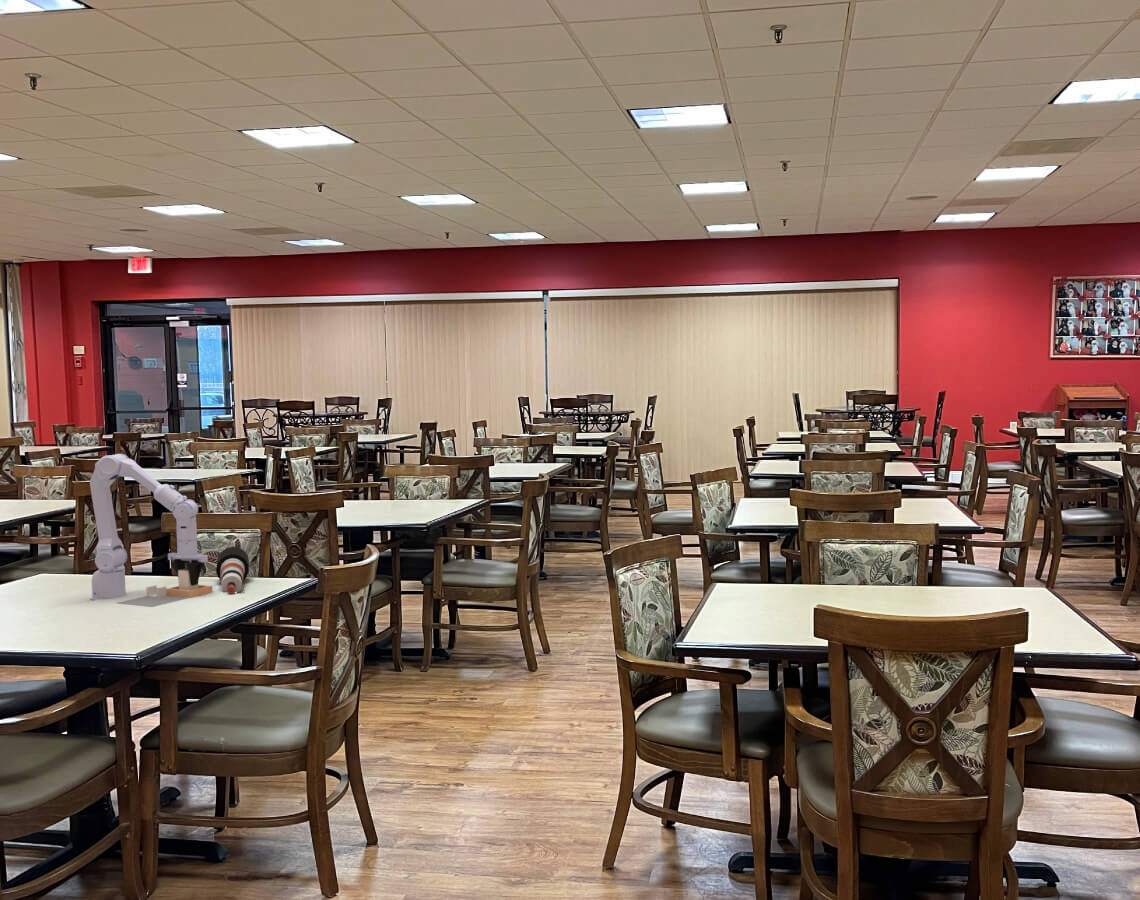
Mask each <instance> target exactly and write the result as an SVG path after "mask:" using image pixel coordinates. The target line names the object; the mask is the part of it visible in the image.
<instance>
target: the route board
mask: <svg viewBox="0 0 1140 900" xmlns="http://www.w3.org/2000/svg"><path fill="white" fill-rule="evenodd" d="M208 594H209V593H207V594H206V595H208ZM204 595H205V594H203V595H202V596H204ZM199 596H201V595H199ZM199 596H198V597H199ZM196 597H197V596H195V597H194V598H196ZM191 598H193V597H191ZM191 598H190V599H191ZM187 599H189V598H187V597H177V596H166V597H162V598H151V597H147V595H146V596H145V595H144V596H140V597H136V598H132V599H127V600H123V601H119V602H116V604H120V605H130V606H137V607H147V608H154V607H159V606H162V605H166V604H170V603H174V602H180V601H182V600H187Z"/></svg>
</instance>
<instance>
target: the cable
mask: <svg viewBox="0 0 1140 900" xmlns="http://www.w3.org/2000/svg"><path fill="white" fill-rule="evenodd" d="M215 567H216V569H215V571H216V575H217V578H218V579H219V580H220V585H221V590H222V592H223V593H228V594H230V595H231V594H235V593H234V592H238V593H240V591H241V589H242V586H243V581H244V580H246V578H247V577H248V574H249V571H250V559H249V555H248V554H247V552H246V550H244V549H242V548H240V547H238V546H230V547H227V548H225V549H223V550H222V551H221V552H219V555H218V557H217V560H216V566H215Z"/></svg>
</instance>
